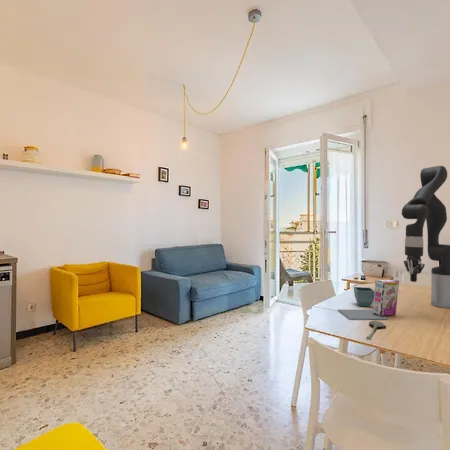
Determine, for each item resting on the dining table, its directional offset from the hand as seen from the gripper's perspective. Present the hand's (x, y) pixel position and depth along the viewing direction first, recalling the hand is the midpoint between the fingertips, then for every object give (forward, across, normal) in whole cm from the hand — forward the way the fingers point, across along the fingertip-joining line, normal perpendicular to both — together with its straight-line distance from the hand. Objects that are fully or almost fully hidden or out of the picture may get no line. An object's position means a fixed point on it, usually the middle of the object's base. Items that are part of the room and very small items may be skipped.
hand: (413, 281), depth 142 cm
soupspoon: (+18, -21, +29) cm, 40 cm away
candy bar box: (+16, 0, +14) cm, 21 cm away
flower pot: (+17, +17, +16) cm, 29 cm away
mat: (+17, 0, +25) cm, 30 cm away
